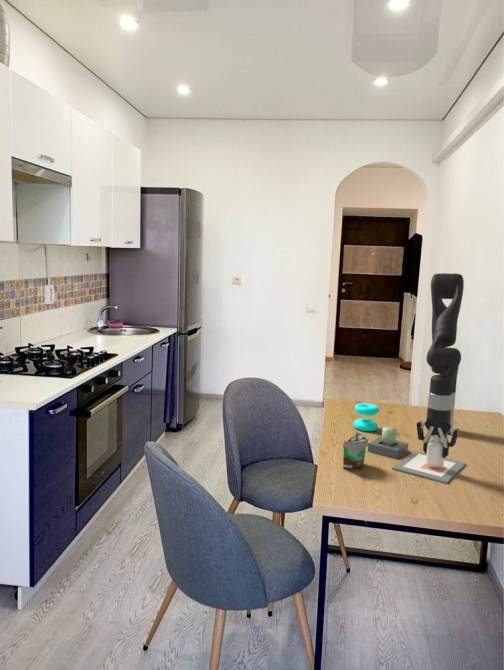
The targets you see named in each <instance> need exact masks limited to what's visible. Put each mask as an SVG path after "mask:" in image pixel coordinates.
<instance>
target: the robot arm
mask: <svg viewBox="0 0 504 670" xmlns="http://www.w3.org/2000/svg"><path fill="white" fill-rule="evenodd" d="M464 287H465V282H464V276H463V275H462V274H461V273H445V272H443V273H442V272H441V273H435V274H433V276H432V277H431V281H430V293H431V294H430V295H431V296H430V297H431V310H432V311H431V312H432V313H431V345H430V347H429V349H428V352H427V353H426V363H427V365H428V366H429V367H430V370H431V371H432V373H433V374H434V375H431V378H430V383H429V394H428V397H427V409H426V410H427V411H426V420H425V421H422V420H421V421H420V420H419V421H418V422H417V423H416V432H417V439H418V440H419V441H421V442H423V446H422V451H423V453H425V454H427V444H428V442H429V441H430V439H431V437H433V436H434V435H437V436H438V437H441V442H443V445H444V447H443V455H442V458H447V457H448V455H449V451H450V448H453V447H454V446H455V445H456V443H457V440H458V437H459V434H460V429H459V428H454V427H453V425H454V416H455V415H454V414H455V406H456V405H455V404H456V394H457V392H456V391H457V382H458V381H457V380H458V372H459V366H460V363H461V361H462V354H461V351H460V350H459V349H458V348H456V347H453V346H454V345H455V344H456V341H457V334H458V333H457V332H458V331H457V330H458V320H459V314H460V311H461V307H462V306H461V305H462V301H463V295H464ZM443 300H451V302H450V303H449V304H448V306H447V305H446V304H445V303H444V301H443ZM424 428H426V430H427V432H426V434H425V432H424ZM448 434H451V435H452V436H451V439H450V441H449V436H448Z"/></svg>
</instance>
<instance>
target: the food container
mask: <svg viewBox="0 0 504 670" xmlns="http://www.w3.org/2000/svg"><path fill="white" fill-rule="evenodd" d="M368 440H369V439H368V437H367V435H365V434H363V433H360V432H355V435H354V436H353V437H350V438H349V439H348V440H343V443H342V444H343V445H342V446H343V447H342V448H343V464H342V466H343V467H342V469H343V470H346V469H348V470H347V471H357V470H362V469H363V468H364V463H365V458H366V457H365V455H366V450H367V448H368V444H369V441H368Z"/></svg>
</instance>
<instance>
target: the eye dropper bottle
mask: <svg viewBox="0 0 504 670" xmlns="http://www.w3.org/2000/svg"><path fill="white" fill-rule="evenodd" d="M443 447H444V445H443V442H442V440H441V437H438V436H437V435H434V436H432V440H429V442H428V444H427V454H426V464H427V465H428V466H434V467H440V466H443V465H444V458H442V455H443Z"/></svg>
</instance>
